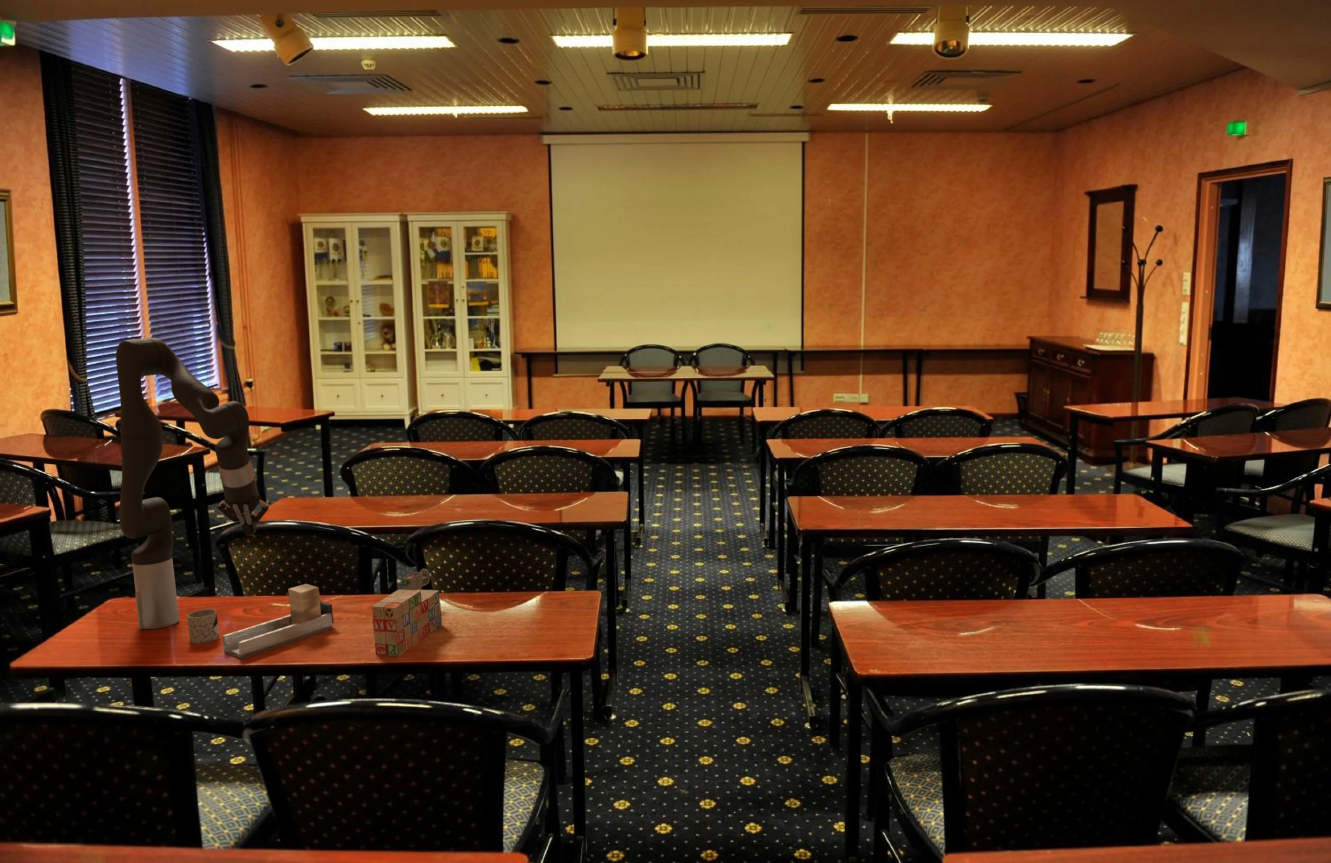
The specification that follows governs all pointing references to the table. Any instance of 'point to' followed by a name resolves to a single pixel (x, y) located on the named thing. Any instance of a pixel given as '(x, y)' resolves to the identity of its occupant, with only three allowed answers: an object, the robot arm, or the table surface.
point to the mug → (203, 626)
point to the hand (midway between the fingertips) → (250, 533)
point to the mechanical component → (416, 580)
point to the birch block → (304, 603)
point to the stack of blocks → (405, 620)
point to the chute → (276, 633)
